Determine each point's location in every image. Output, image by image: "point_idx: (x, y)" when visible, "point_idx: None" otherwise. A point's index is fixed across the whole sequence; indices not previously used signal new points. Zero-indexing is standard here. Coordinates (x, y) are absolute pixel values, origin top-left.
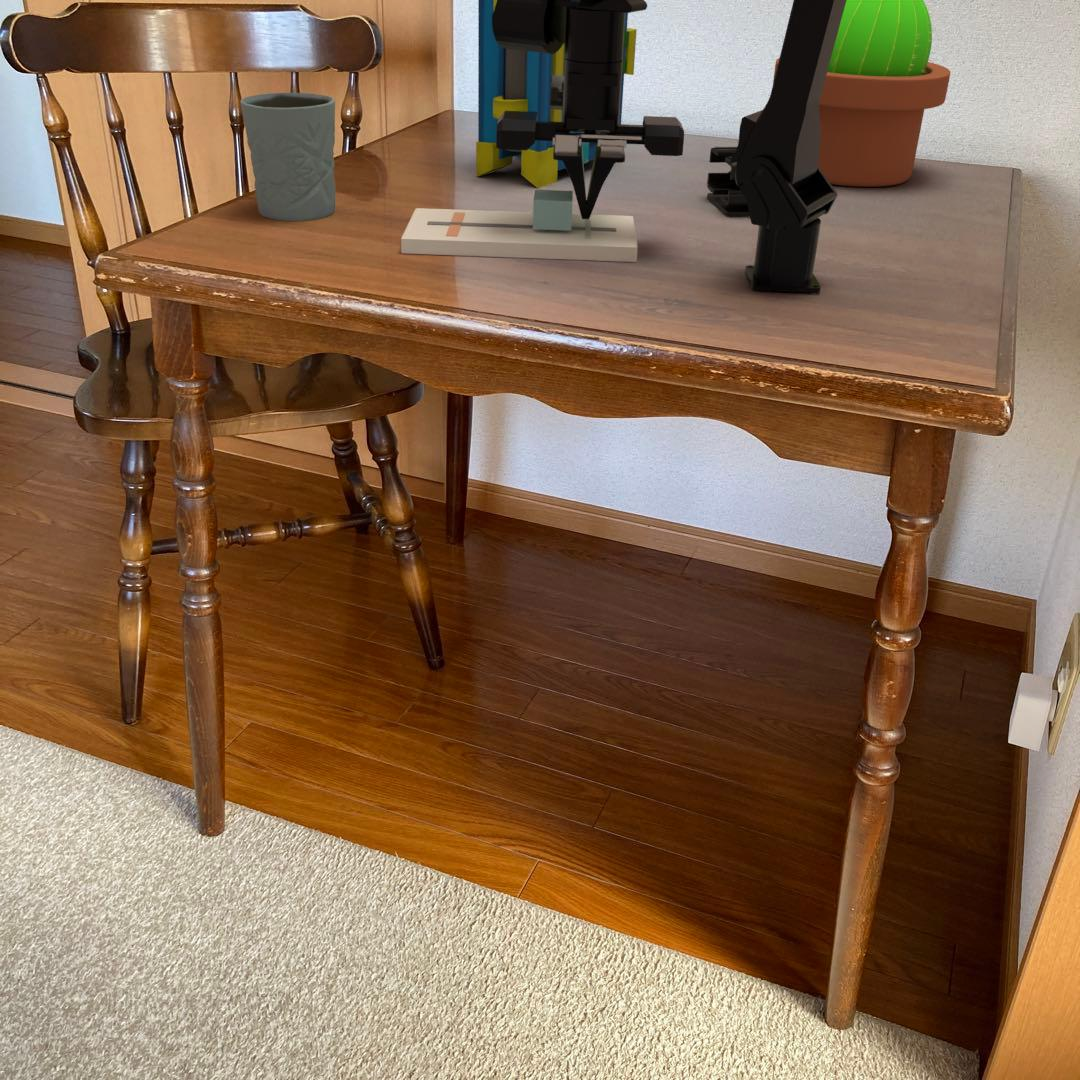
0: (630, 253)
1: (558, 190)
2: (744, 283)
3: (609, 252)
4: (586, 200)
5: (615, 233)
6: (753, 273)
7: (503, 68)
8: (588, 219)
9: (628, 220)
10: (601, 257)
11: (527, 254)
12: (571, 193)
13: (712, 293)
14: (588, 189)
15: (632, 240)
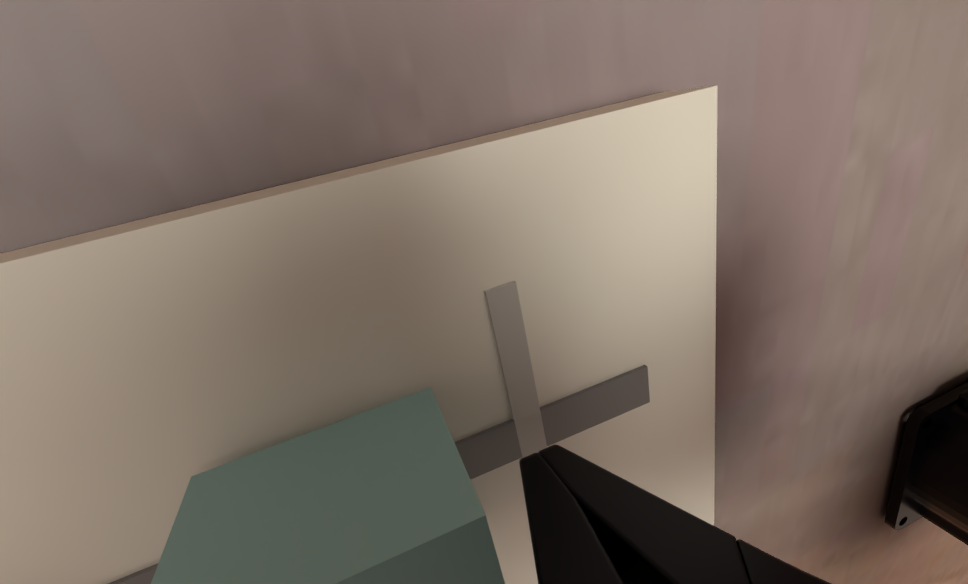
0: None
1: (360, 570)
2: (878, 483)
3: None
4: (580, 505)
5: (645, 425)
6: (918, 479)
7: None
8: (499, 261)
9: (694, 190)
10: None
11: None
12: (494, 580)
13: (810, 571)
14: (635, 560)
15: (702, 468)
